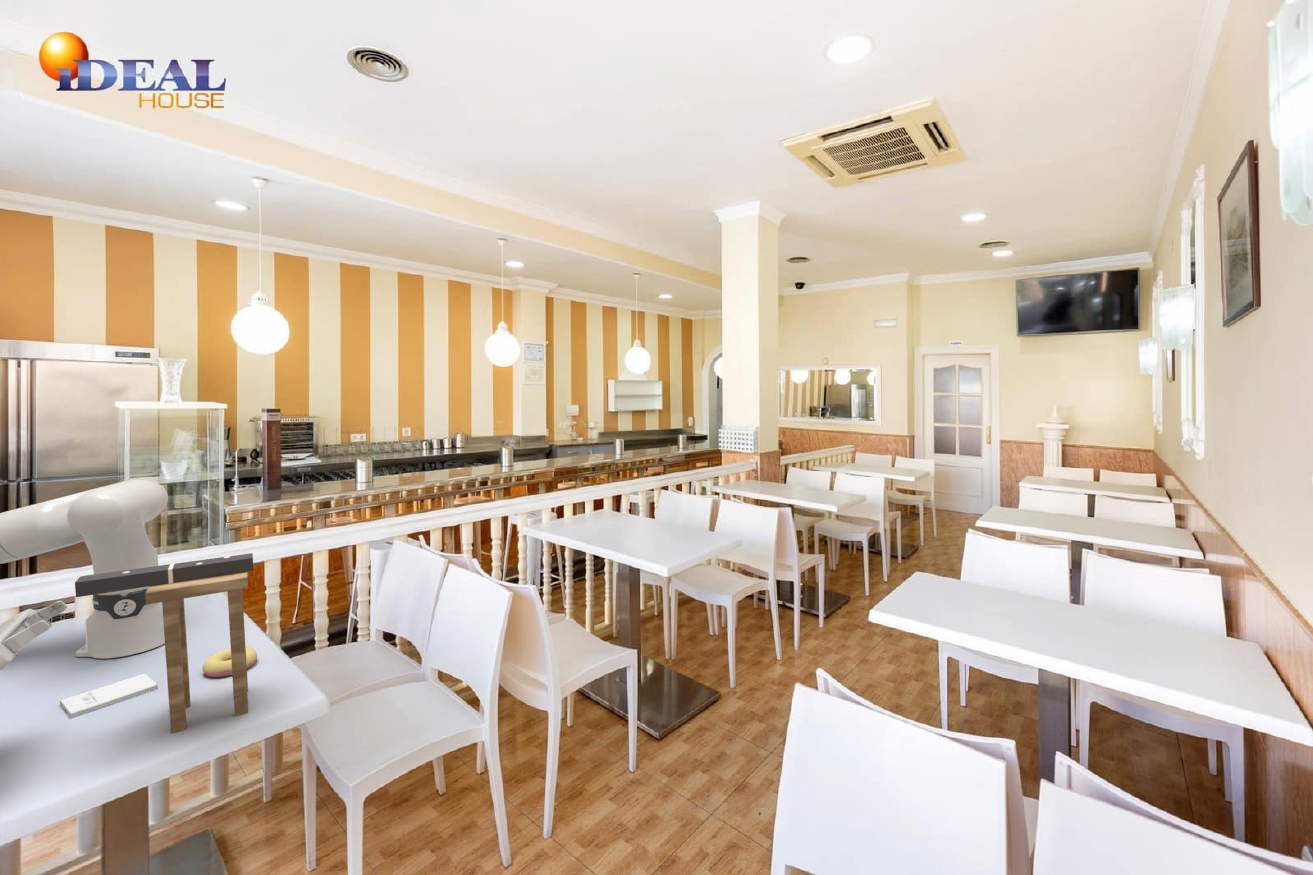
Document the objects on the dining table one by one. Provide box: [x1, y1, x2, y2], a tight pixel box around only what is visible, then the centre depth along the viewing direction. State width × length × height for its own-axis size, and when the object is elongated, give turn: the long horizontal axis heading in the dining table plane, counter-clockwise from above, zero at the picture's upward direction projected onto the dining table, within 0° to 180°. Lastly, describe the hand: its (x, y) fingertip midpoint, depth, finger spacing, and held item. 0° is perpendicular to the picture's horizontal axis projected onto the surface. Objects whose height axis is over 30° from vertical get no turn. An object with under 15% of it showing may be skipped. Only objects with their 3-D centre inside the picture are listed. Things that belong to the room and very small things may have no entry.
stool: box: [145, 571, 249, 734], centre depth 105 cm, size 12×14×26 cm
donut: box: [202, 646, 258, 678], centre depth 122 cm, size 10×5×9 cm
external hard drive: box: [59, 673, 159, 719], centre depth 110 cm, size 2×8×12 cm
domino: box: [74, 552, 255, 598], centre depth 101 cm, size 4×24×3 cm, turn 126°
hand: (56, 613), depth 93 cm, fingers open, 8 cm apart
